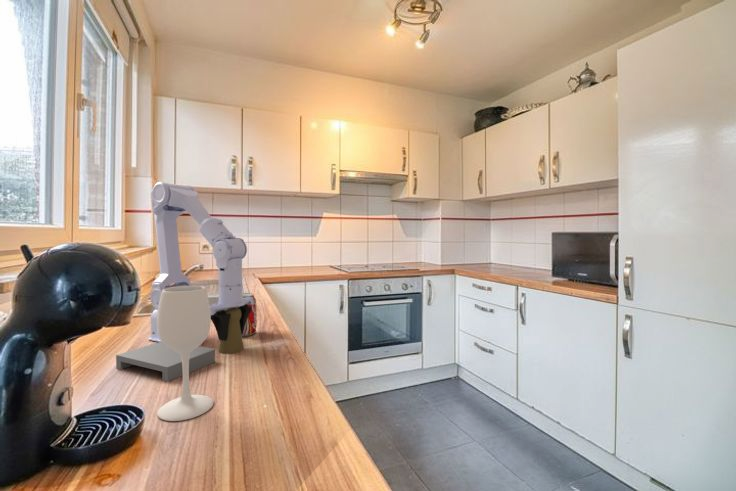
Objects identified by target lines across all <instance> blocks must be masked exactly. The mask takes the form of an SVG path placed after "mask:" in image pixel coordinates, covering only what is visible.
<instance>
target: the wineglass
mask: <svg viewBox="0 0 736 491" xmlns="http://www.w3.org/2000/svg"><path fill="white" fill-rule="evenodd" d="M210 305H211V304H210V299H209V296H208V291H207V288H206V287H205V286H202V285H191V286H179V287H171V288H166V289H163V290H162V293H161V297H160V301H159V307H158V315H157V327H158V334H159V338H160V340H161V341H162V343H163V344H164V345H165V346H166V347H168V348H169V349H171V350H173V351H175V352H177V353H179V354H180V356H181V359H182V368H183V376H182V387H181V389H182V390H181V396H180V397H176V398H174V399H172V400H170V401H167V402H166V403H165V404H163V405H162V406H161V407H160V408H159V409H158V410H157V412H156V413H157V414H156V415H157V417H158V418H159V419H160V420H163V421H166V422H167V421H168V422H180V421H186V420H190V419H194V418H197V417H198V416H199V417H200V416H201V415H203V414H206V413H207V412H208V411H209V410H210V409H211V408H212V407H213V406H214V400H213V398H211V397H210V396H207V395H203V394H191V388H190V373H189V357H190V354H191V352H192V351H193V350H194V349H196V348H197V347H198V346H200V347H201V345H202V344H203V343H204V342H205V340H206V339H207V338H208V336H209V334H210V331H211V322H212V320H211V312H210Z"/></svg>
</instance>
